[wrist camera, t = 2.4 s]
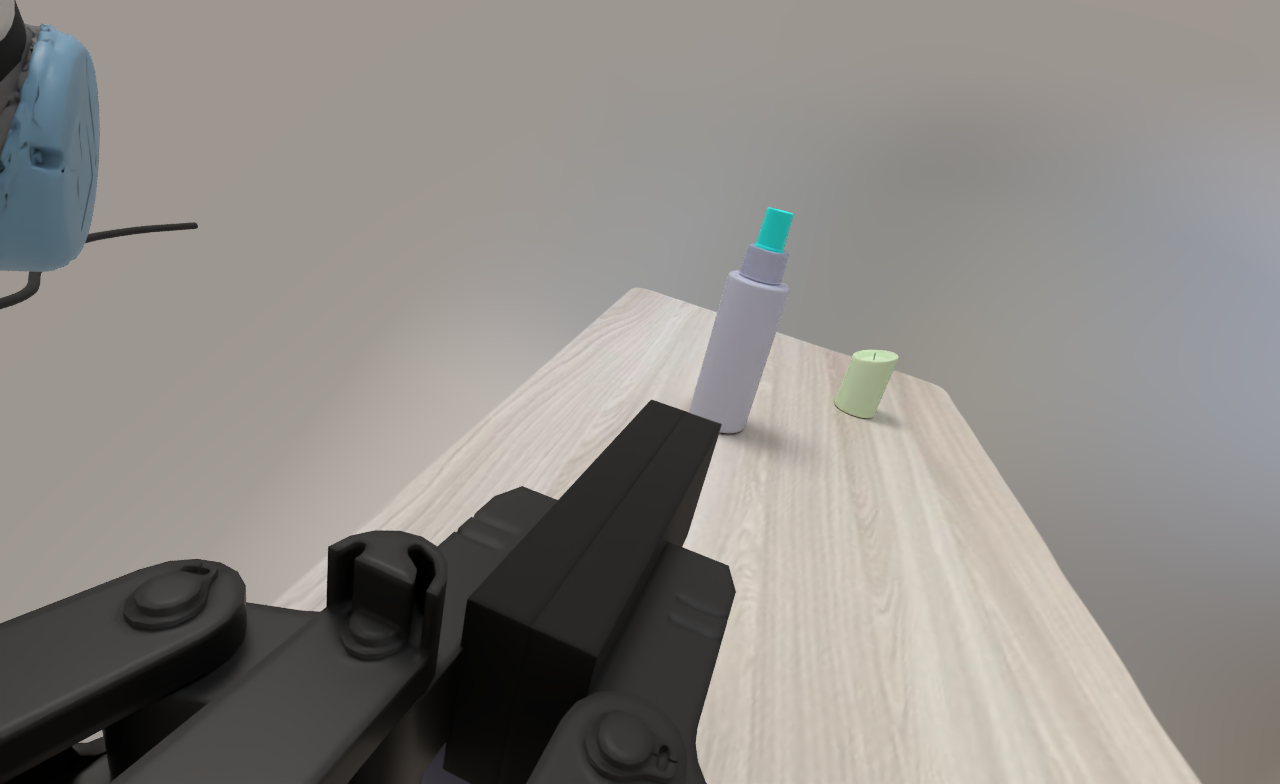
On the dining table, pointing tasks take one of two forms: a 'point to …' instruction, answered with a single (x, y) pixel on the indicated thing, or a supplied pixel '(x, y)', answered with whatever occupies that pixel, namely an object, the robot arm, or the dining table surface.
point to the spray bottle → (744, 328)
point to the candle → (865, 382)
